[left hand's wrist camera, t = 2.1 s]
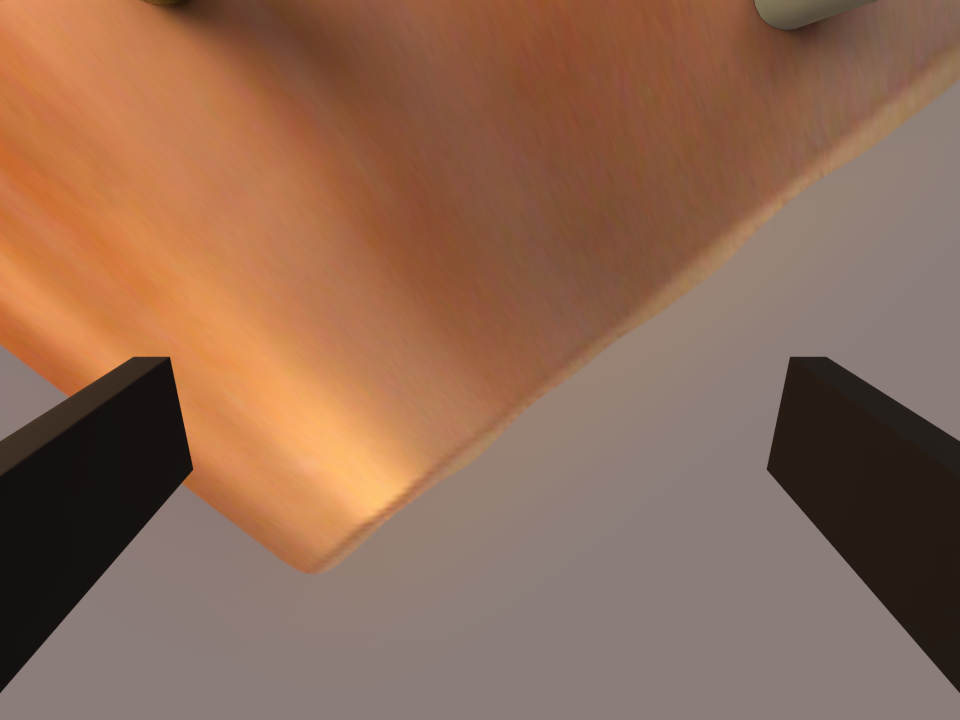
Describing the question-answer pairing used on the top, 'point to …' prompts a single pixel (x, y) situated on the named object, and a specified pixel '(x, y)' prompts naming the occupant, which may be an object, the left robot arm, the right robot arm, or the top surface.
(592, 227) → the top surface
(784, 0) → the screw-top jar
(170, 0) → the soda can
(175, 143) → the top surface
